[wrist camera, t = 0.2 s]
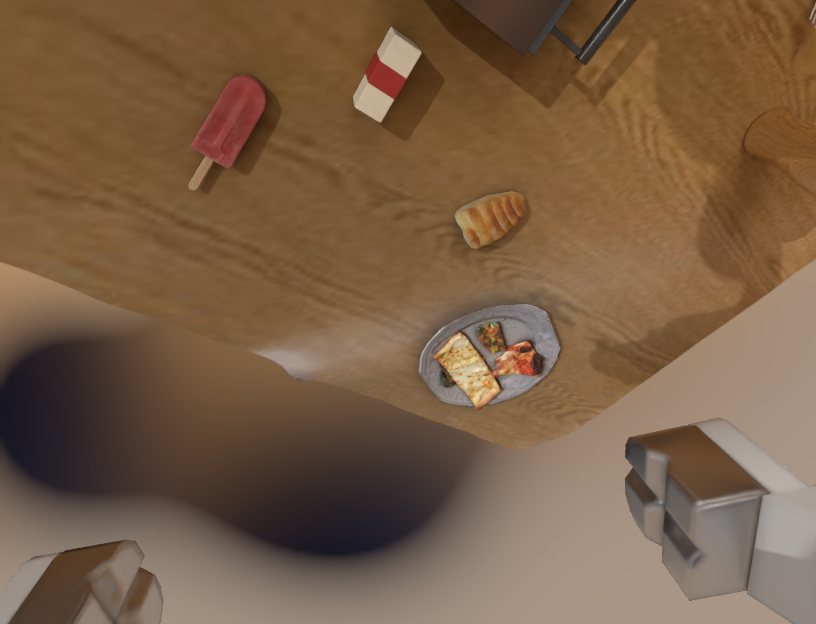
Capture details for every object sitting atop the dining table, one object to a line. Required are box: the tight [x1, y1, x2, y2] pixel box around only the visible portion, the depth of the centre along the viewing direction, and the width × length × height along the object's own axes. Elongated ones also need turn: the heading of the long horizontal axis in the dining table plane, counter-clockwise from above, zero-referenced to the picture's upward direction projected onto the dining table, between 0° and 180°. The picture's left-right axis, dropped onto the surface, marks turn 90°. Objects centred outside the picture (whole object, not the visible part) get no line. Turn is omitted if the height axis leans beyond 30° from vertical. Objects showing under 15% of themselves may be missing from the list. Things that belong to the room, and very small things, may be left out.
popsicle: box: [189, 74, 267, 190], centre depth 53 cm, size 4×2×15 cm
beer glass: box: [744, 108, 816, 197], centre depth 57 cm, size 7×7×15 cm
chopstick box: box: [353, 27, 422, 123], centre depth 50 cm, size 8×3×4 cm, turn 147°
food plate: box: [419, 304, 560, 410], centre depth 82 cm, size 25×23×4 cm
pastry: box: [454, 191, 526, 249], centre depth 63 cm, size 9×7×4 cm
